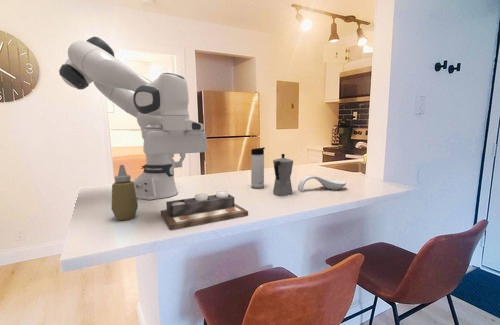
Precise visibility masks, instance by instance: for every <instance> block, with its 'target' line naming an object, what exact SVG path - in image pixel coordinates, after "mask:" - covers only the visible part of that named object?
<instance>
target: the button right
mask: <svg viewBox="0 0 500 325" xmlns="http://www.w3.org/2000/svg"><path fill="white" fill-rule="evenodd" d="M228 194H229V191H227V190H219V191H216V194H215V195H216V198H218V199H221V198H228Z"/></svg>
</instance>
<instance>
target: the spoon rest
mask: <svg viewBox="0 0 500 325" xmlns="http://www.w3.org/2000/svg"><path fill="white" fill-rule="evenodd" d="M313 179H314V180H316V181H318V182H319V183H320V184H321V185H322V187H324V188H325V189H326V188H327V189H326V190H328V189H331V190H330V191H337V190H338V189H339V190H340V189H342V188H344V187H345V186H346V185H347V182H346V181H343V180H338V179H332V178H331V179H330V178H329V179H328V178H322V177H320V176H317V175H314V174H313V175H312V174H311V175H307V176H305V177H303V178H302V179H301V180H300V181H299V183H298V185H297V190H298V191H300V192H304V186H305V184H306V182H307V181H309V180H313ZM339 190H338V191H339Z"/></svg>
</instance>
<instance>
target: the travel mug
mask: <svg viewBox="0 0 500 325" xmlns="http://www.w3.org/2000/svg"><path fill="white" fill-rule="evenodd" d="M265 149H266V147H257V148H252V149H251V153H250V154H251V156H250V164H251V166H250V167H251V169H250V170H251V172H250V174H251V177H250V178H251V180H250V181H251V183H250V184H251V185H250V186H251V188H252V189H254V190H259V189H260V190H263V189H265V188H264V187H265V153H264V152H265Z"/></svg>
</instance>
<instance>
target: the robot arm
mask: <svg viewBox="0 0 500 325" xmlns="http://www.w3.org/2000/svg"><path fill="white" fill-rule="evenodd" d="M67 57H68V59H67V60H66V61H65V62H64V64H61V66H60V68H59V71H58V73H59V77H61V79H62V80H63V82H64V83H65V84H67V85H68V86H70V87H71V88H74V89H77V90H84V89H86V88H88V87H90V84H92V83H93V85H94V86H95V88H96V89H97V90H98V91H99V92H100V93H101V94H102V95H103V96H104V97H105V98H106V99H108V100H109V101H111V102H112V103H113V104H115V105H116V106H117V107H119V108H120V109H121V110H122V111H124V112H125V113H127V114H129V116H130V115H131V116H133V117H134V118H135V119H136V122H137V124H138V126H139V128H140V131H141V137H142V139H143V146H142V147H143V153H144V154H145V161H146V164H144V165H141V166H140V167H141V168H140V169H143V171H142V173H141V174H140V175H138V176H137V177H136V178H135V179H134V180H133V181H132V182H133V183H134V187H135V192H136V198H137V199H140V200H147V201H151V200H152V201H153V200H157V199H165V198H169V197H175V196H176V195H178V193H179V191H178V189H177V186H176V182H175V176H174V175H175V169H176V168H177V169H178V168H183V162H184V160H185V158H186V154H196V153H197V154H198V153H200V154H201V153H206V152H207V150H208V139H207V134H206V133H205V132H204V129H205V128H204V127H205V125H204V123H201V122H198V121H194V120H191V119H190V114H189V110H188V108H189V101H190V100H189V89H188V83H187V80H186V78H184V76H183V75H179V74H176V73H172V72H162V73H160V74H159V76H158V77H157V78H156V79H155V80H153V81H151V80H149V79H148V78H146V77H144V76H142V75H141V74H140V73H137V72H136V71H135V70H133V69H132V68H130V67H129V66H127V65H126V64H125V63H123V62H122V61H120V60H119V59H117V58H116V56H115V52H114V50H113V48H112V47H111V46H110V44H109V43H108V42H106V41H105V40H104V39H102V38H101V37H99V36H92V37H90V38H88V39H86V40H85V41H84V40H77V41H73V42H72V43H71V44H69V46H68V49H67ZM175 155H179V157H180V158H179V161H175V159H174V158H175Z"/></svg>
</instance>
